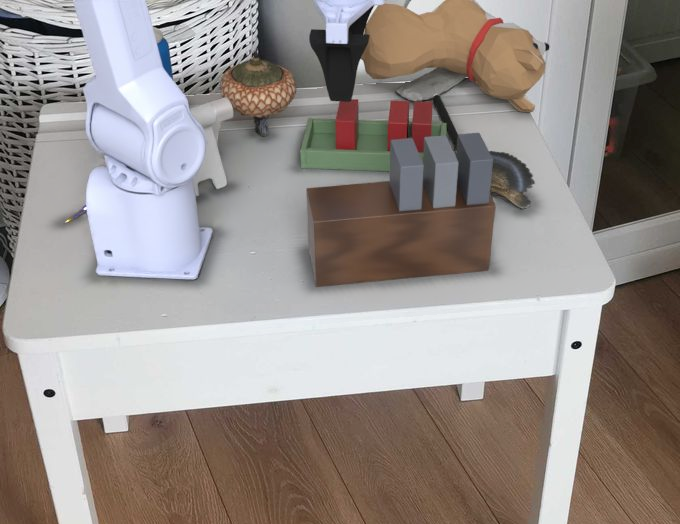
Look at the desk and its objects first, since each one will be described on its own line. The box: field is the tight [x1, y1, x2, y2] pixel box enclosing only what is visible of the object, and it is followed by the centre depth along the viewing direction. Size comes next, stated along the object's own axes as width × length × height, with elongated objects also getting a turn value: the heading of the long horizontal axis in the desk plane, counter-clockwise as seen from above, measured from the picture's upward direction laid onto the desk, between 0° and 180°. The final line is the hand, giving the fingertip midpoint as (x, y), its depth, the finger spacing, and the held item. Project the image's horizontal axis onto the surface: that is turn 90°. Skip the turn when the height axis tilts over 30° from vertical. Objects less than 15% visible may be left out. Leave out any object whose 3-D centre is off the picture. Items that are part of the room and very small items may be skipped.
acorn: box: [219, 50, 297, 137], centre depth 108 cm, size 8×8×10 cm
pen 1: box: [64, 204, 87, 224], centre depth 100 cm, size 14×1×1 cm, turn 132°
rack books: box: [387, 100, 434, 153], centre depth 105 cm, size 4×5×4 cm
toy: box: [360, 0, 551, 113], centre depth 114 cm, size 10×24×20 cm
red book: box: [335, 98, 360, 150], centre depth 106 cm, size 2×5×4 cm, turn 175°
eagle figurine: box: [453, 150, 536, 210], centre depth 98 cm, size 8×7×9 cm
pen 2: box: [432, 94, 459, 150], centre depth 110 cm, size 1×19×1 cm, turn 8°
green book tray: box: [299, 117, 447, 172], centre depth 107 cm, size 15×7×2 cm, turn 85°
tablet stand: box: [189, 97, 234, 197], centre depth 101 cm, size 9×8×8 cm
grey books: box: [388, 132, 493, 211], centre depth 87 cm, size 8×5×4 cm, turn 98°
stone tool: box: [395, 67, 468, 102], centre depth 120 cm, size 14×1×5 cm
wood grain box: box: [305, 180, 496, 288], centre depth 90 cm, size 16×6×7 cm, turn 98°
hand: (344, 82), depth 102 cm, fingers open, 7 cm apart
